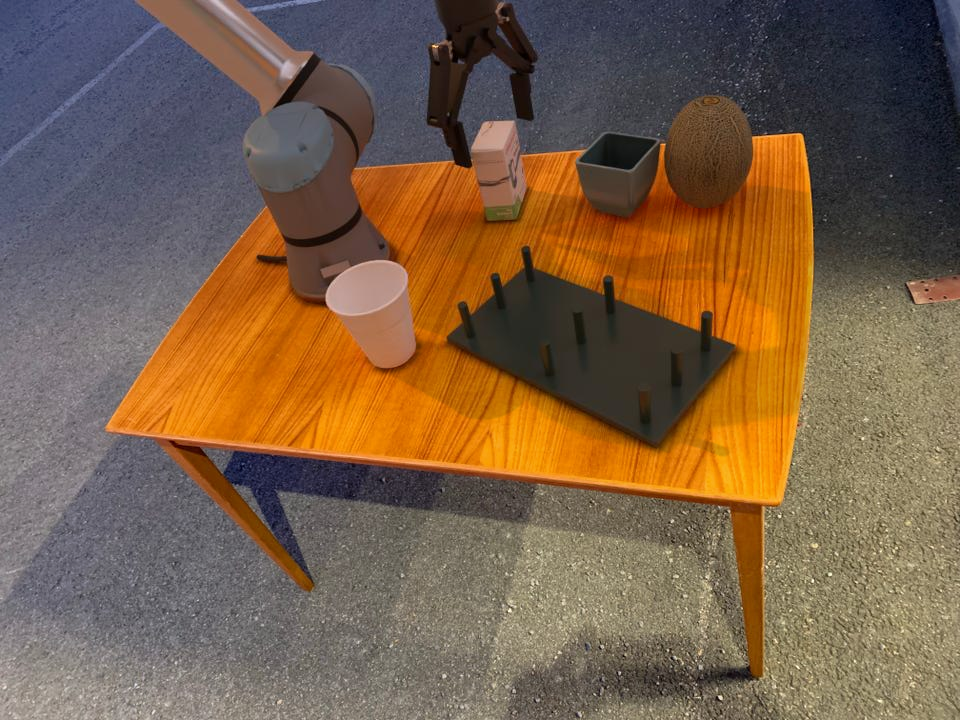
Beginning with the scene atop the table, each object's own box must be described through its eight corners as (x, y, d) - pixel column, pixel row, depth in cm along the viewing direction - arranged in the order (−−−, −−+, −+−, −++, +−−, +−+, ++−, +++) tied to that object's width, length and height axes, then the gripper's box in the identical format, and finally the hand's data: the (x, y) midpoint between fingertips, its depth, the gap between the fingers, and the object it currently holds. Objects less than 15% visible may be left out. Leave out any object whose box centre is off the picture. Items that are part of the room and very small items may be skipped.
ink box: (517, 220, 103) (503, 149, 95) (485, 221, 104) (469, 151, 96) (527, 188, 108) (515, 117, 100) (497, 189, 110) (482, 120, 102)
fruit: (751, 223, 92) (760, 117, 81) (663, 226, 95) (661, 125, 84) (747, 175, 99) (755, 73, 89) (666, 180, 102) (664, 82, 92)
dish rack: (447, 342, 87) (436, 307, 83) (527, 270, 94) (520, 234, 90) (656, 448, 70) (655, 410, 66) (735, 350, 77) (738, 310, 73)
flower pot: (608, 184, 105) (604, 129, 98) (663, 195, 100) (662, 138, 94) (579, 217, 100) (572, 161, 94) (635, 229, 96) (632, 172, 89)
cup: (342, 354, 90) (311, 289, 82) (405, 315, 93) (381, 249, 85) (379, 394, 83) (349, 328, 76) (446, 350, 86) (423, 282, 79)
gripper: (411, 28, 77) (455, 193, 91) (549, -56, 87) (569, 104, 102) (368, 22, 81) (417, 180, 96) (504, -57, 92) (530, 96, 106)
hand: (495, 141), depth 99 cm, fingers open, 13 cm apart
